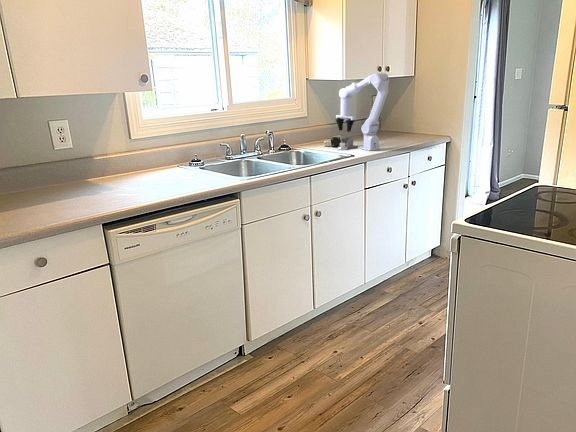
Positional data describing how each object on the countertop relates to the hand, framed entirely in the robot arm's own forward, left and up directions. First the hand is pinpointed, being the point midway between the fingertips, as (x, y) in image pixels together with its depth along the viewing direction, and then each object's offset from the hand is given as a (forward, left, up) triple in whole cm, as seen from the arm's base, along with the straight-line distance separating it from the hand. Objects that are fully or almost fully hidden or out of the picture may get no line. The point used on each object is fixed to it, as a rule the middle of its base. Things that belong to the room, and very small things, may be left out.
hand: (344, 131), depth 289 cm
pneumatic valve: (+8, +11, -8) cm, 15 cm away
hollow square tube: (-1, -1, -10) cm, 10 cm away
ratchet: (-9, +3, -10) cm, 14 cm away
